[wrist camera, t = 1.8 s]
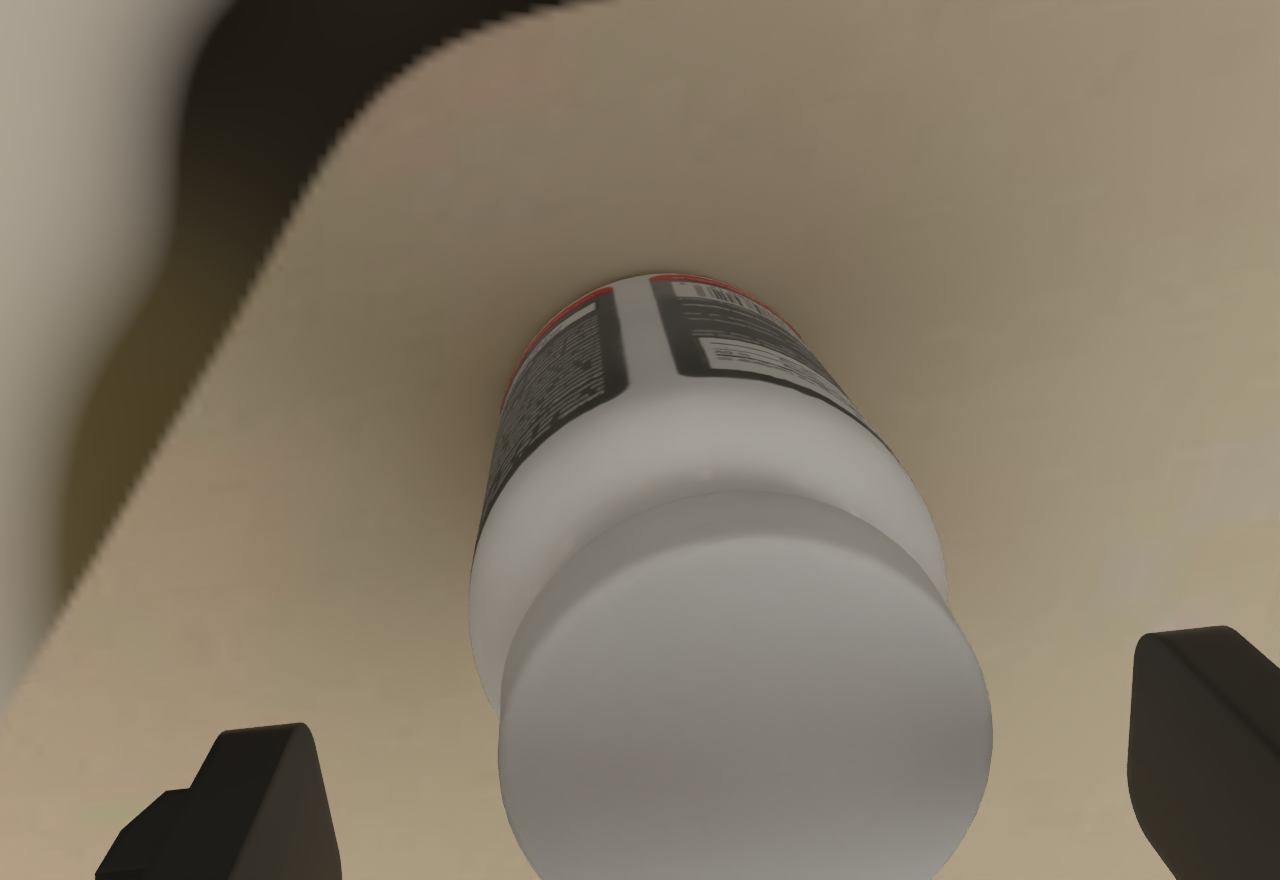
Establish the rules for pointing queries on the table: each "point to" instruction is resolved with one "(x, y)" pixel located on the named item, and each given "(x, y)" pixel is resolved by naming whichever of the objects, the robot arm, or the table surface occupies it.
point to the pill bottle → (714, 609)
